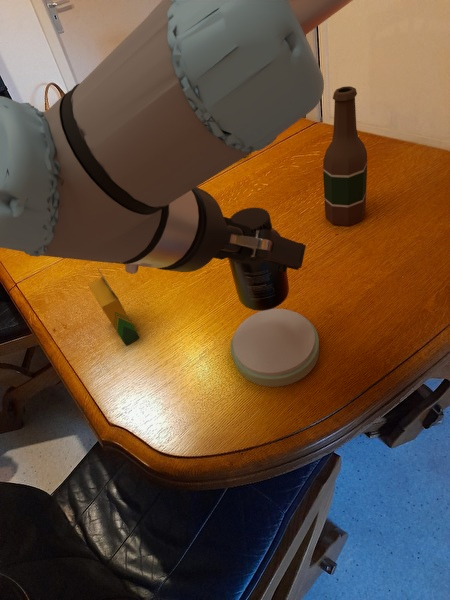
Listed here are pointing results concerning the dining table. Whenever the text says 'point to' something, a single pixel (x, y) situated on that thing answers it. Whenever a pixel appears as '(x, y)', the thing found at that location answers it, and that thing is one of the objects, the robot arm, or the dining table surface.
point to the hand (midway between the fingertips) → (270, 254)
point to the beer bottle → (345, 164)
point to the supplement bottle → (258, 268)
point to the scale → (275, 347)
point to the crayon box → (114, 310)
